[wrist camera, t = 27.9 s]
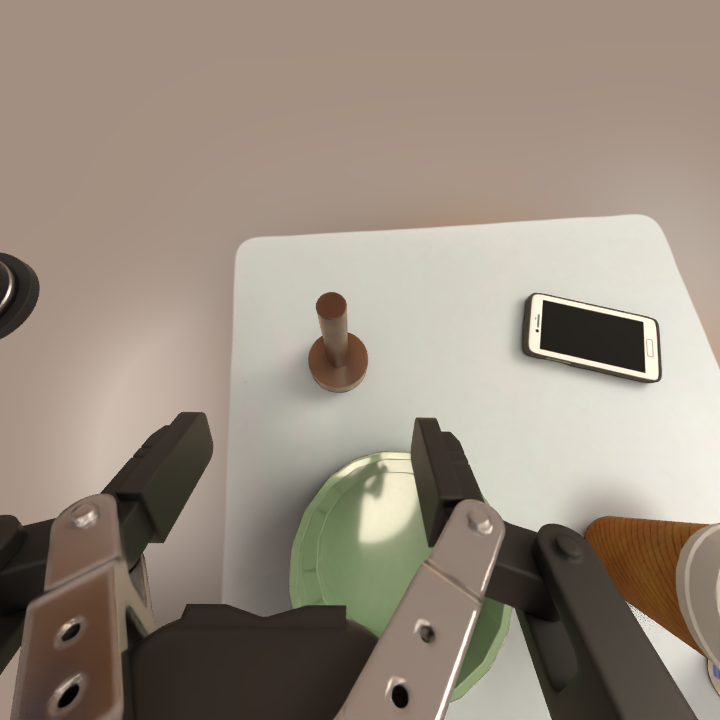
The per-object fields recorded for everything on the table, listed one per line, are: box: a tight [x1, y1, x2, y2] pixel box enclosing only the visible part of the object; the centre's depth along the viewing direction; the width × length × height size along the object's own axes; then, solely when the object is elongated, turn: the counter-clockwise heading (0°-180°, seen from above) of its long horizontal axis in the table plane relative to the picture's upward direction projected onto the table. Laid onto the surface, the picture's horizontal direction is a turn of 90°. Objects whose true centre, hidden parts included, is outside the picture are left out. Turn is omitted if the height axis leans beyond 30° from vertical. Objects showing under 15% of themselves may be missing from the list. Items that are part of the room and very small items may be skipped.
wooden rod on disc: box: [309, 292, 368, 392], centre depth 27 cm, size 6×6×14 cm
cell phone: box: [523, 293, 662, 383], centre depth 34 cm, size 8×15×1 cm, turn 77°
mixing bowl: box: [288, 452, 512, 703], centre depth 25 cm, size 16×16×6 cm
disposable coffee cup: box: [584, 516, 720, 671], centre depth 23 cm, size 10×10×12 cm
